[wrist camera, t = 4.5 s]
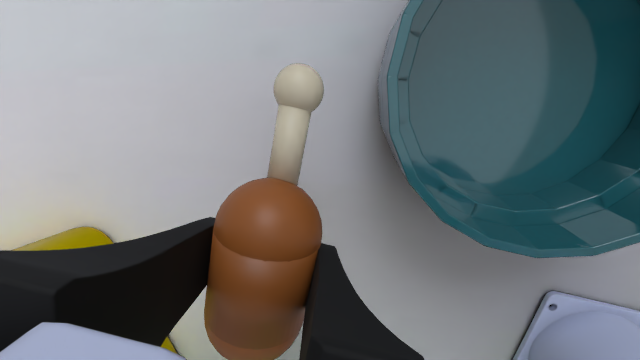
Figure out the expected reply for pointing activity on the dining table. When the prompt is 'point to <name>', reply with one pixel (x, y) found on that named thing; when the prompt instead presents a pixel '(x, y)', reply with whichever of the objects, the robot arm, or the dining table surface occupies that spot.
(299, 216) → the drumstick
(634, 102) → the teal mixing bowl
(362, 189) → the dining table surface
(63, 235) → the element tile
